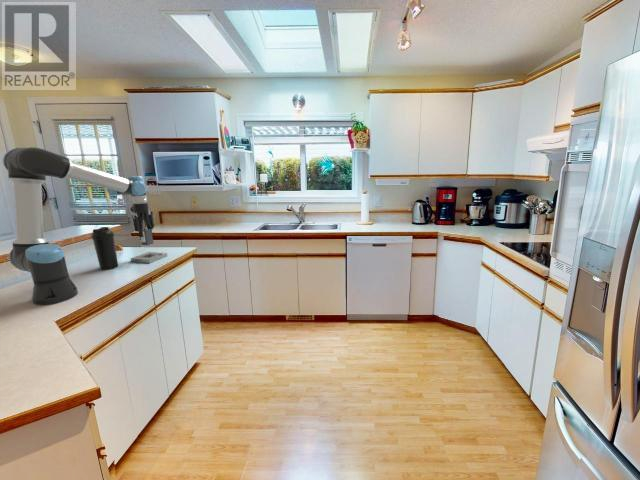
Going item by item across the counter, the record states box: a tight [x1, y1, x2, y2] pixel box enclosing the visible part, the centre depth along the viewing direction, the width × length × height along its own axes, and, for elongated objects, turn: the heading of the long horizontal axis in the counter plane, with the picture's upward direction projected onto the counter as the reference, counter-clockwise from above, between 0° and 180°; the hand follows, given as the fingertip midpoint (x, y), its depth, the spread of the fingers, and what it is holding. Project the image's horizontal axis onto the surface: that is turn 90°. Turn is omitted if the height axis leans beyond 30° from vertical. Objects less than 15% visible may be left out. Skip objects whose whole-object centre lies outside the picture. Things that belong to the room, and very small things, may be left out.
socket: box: [130, 251, 168, 264], centre depth 184 cm, size 14×14×3 cm
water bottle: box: [91, 226, 119, 271], centre depth 167 cm, size 10×10×23 cm
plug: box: [139, 227, 154, 246], centre depth 181 cm, size 4×4×10 cm
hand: (147, 240), depth 181 cm, fingers closed on plug, 4 cm apart
